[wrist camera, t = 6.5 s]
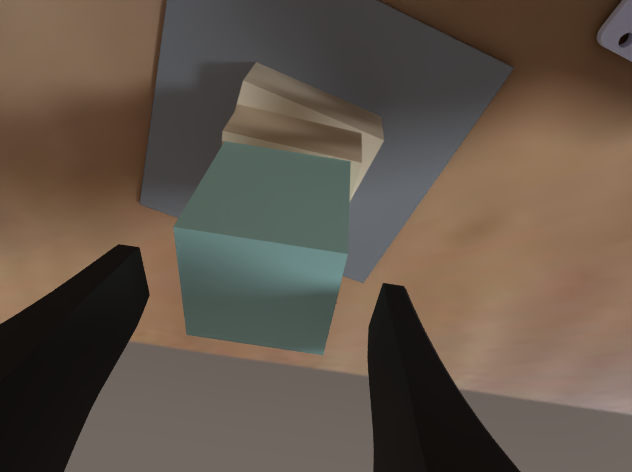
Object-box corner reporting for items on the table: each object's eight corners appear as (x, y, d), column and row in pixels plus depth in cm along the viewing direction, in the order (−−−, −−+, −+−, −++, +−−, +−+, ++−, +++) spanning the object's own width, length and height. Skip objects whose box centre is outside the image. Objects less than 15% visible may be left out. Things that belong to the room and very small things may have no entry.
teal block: (350, 161, 14) (347, 253, 10) (331, 254, 17) (322, 355, 13) (225, 141, 14) (173, 226, 10) (226, 238, 17) (186, 334, 13)
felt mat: (511, 66, 17) (513, 68, 16) (363, 279, 25) (363, 283, 25) (182, -96, 14) (179, -97, 14) (141, 201, 23) (139, 204, 22)
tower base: (381, 116, 18) (384, 140, 16) (329, 213, 22) (327, 242, 20) (256, 61, 17) (243, 80, 15) (224, 173, 21) (210, 200, 19)
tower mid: (361, 133, 16) (361, 163, 14) (332, 227, 19) (329, 262, 17) (239, 104, 16) (222, 131, 14) (230, 205, 19) (215, 238, 17)
